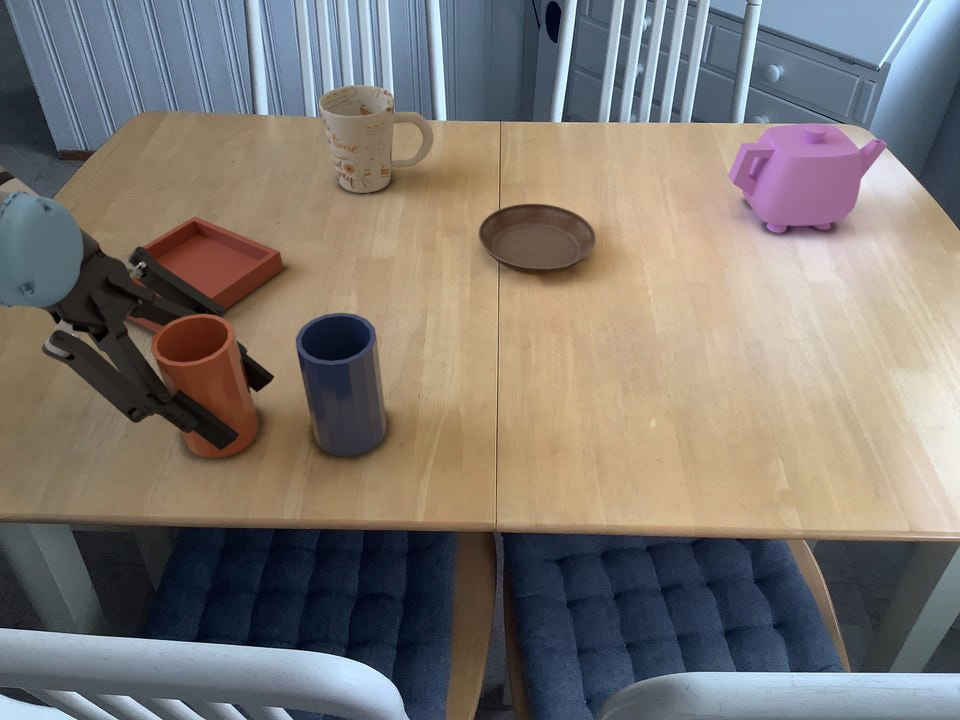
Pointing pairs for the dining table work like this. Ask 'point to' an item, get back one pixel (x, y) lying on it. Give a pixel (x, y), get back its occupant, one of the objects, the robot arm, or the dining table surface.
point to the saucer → (537, 238)
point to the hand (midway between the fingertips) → (248, 412)
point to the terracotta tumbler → (207, 376)
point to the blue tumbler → (342, 383)
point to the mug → (366, 135)
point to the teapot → (802, 174)
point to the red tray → (212, 262)
